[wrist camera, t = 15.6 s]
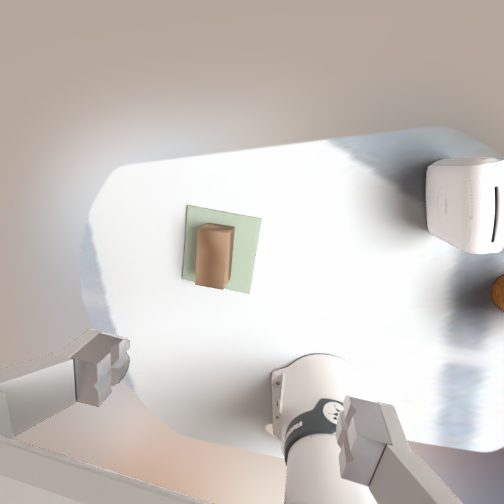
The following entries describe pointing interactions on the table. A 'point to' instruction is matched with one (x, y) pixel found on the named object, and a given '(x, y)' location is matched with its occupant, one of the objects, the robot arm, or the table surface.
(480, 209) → the photo printer
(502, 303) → the disposable coffee cup
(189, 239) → the rubber mat
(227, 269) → the box
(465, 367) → the table surface
